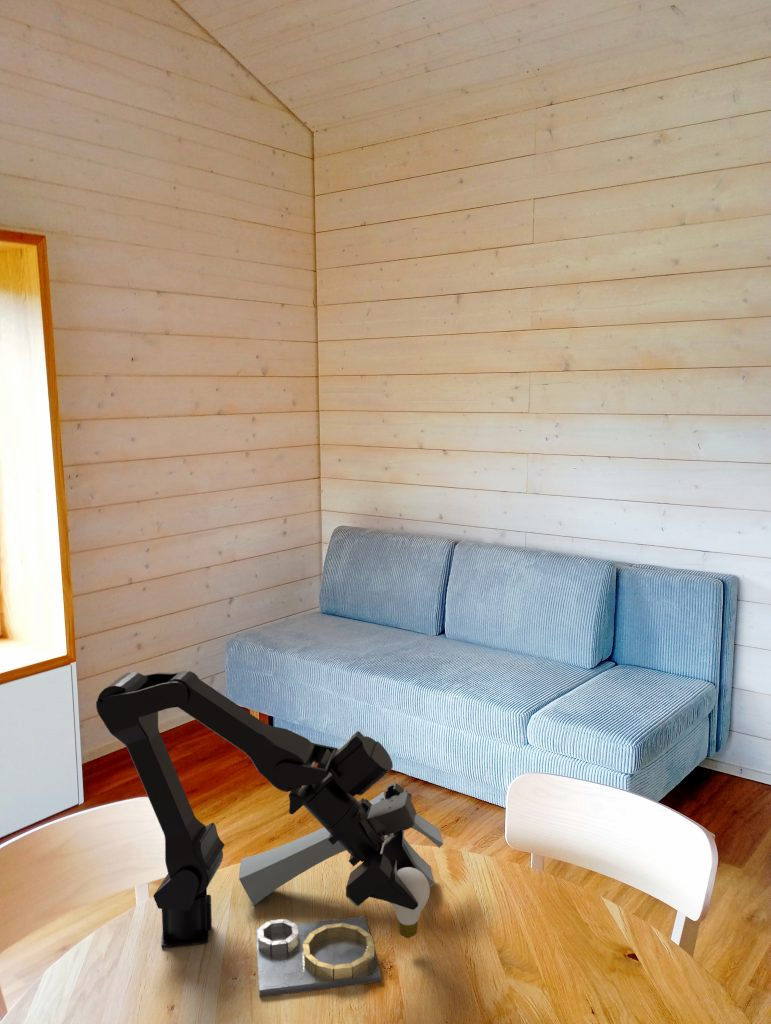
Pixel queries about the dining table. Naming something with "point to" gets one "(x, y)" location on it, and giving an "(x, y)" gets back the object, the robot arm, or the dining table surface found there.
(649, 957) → the dining table surface
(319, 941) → the plate
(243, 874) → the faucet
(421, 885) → the light bulb
